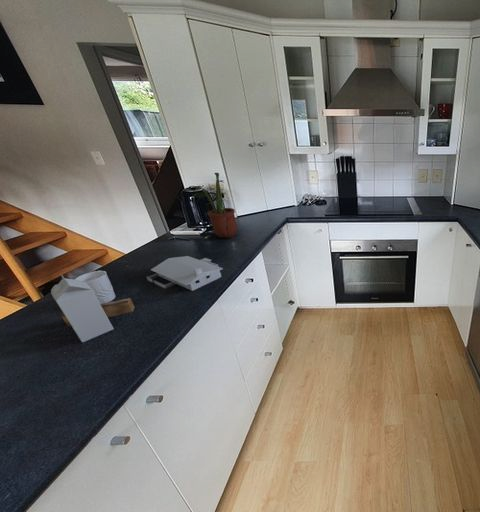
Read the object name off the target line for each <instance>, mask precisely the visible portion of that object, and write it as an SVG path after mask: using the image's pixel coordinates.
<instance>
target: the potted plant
mask: <svg viewBox="0 0 480 512" xmlns="http://www.w3.org/2000/svg"><path fill="white" fill-rule="evenodd" d="M213 174H214V175H215V178H216V180H215V192H214V194H215V203H214V202H213V201H212V199H211V196H210V195H209V193H208V192H207V189H205V188H203V186H202V185H196V186H192V188H193V189H194V188H201V191H202V192H196V193H194V194H193V195H192V196H191V199H194V198H203V197H204V198H205V197H206V198H207V200H208V201H209V202H207V205H211V207H212V209H211V210H208V211H207V212H206V215H207V216H208V217H209V220H210V223H211V226H212V230H213V232H214V234H215V235H216V236H217V237H218V238H220V239H224V240H227V239H231V238H234V237H235V236H236V235H237V232H238V225H237V220H236V216H235V213H236V210H235V209H234V208H231V207H225V206H224V201H223V195H229V194H227V193H226V192H222V191H224V188H221V185H220V184H221V183H223V184H224V183H225V182H224V180H222V179H221V180H220V173H219V172H213ZM215 205H216V207H215Z"/></svg>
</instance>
